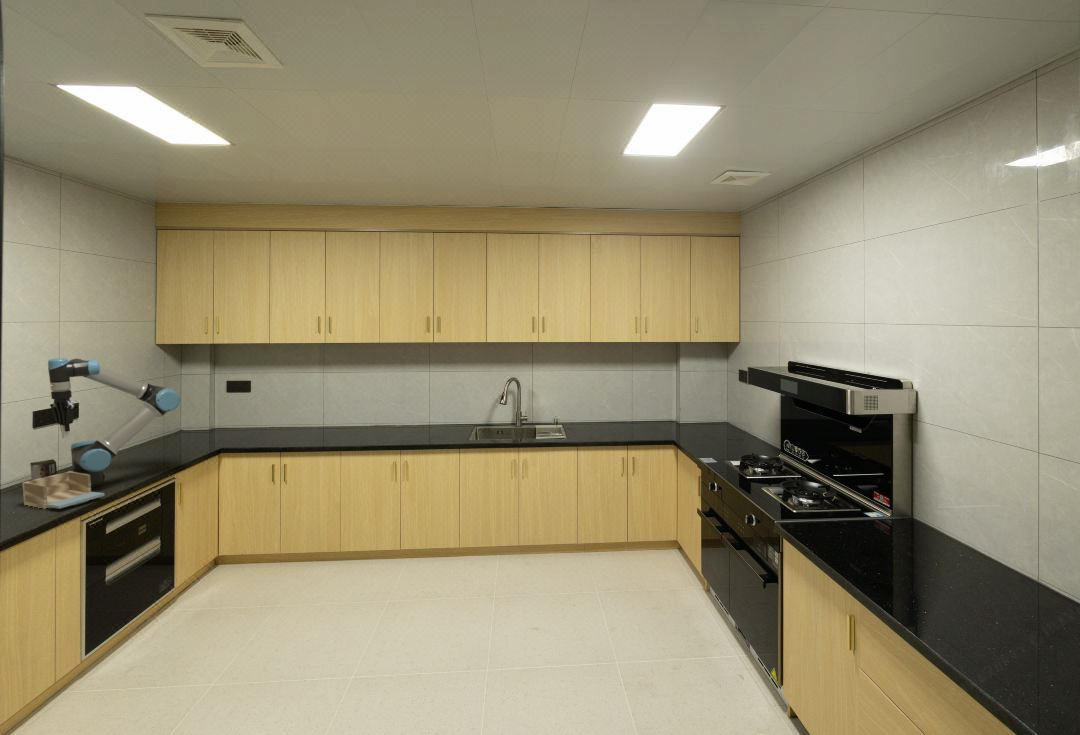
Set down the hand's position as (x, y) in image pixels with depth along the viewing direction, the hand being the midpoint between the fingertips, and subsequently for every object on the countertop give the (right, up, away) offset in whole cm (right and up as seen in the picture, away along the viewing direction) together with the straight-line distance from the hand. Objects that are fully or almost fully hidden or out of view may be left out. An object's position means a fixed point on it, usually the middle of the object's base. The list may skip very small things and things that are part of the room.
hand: (66, 437), depth 281 cm
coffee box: (-14, -29, +5) cm, 32 cm away
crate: (+1, -30, -6) cm, 30 cm away
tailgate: (+9, -28, -8) cm, 31 cm away
